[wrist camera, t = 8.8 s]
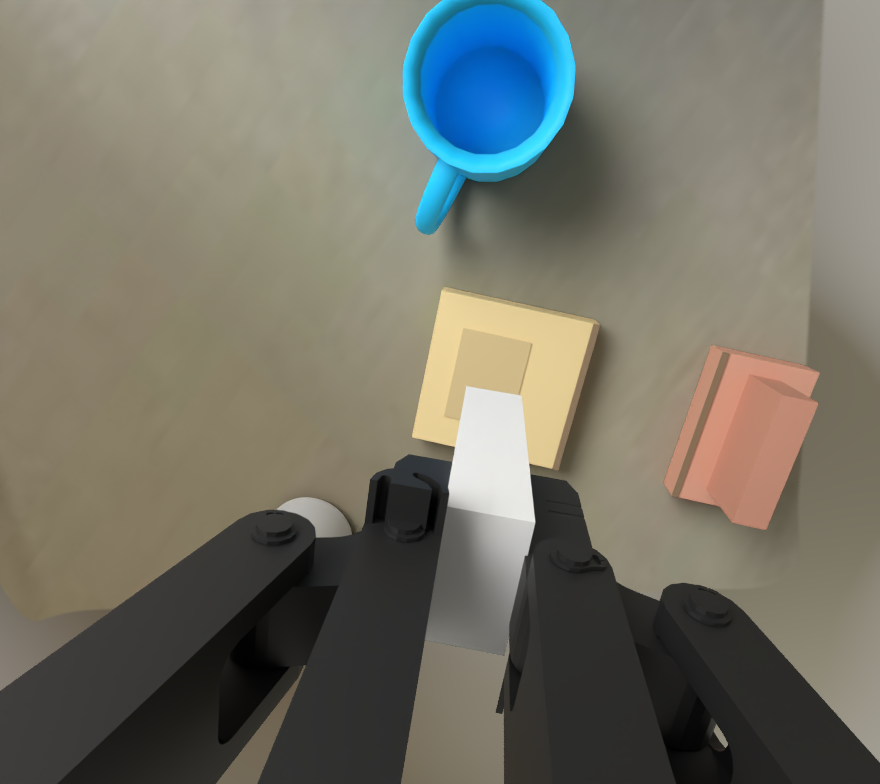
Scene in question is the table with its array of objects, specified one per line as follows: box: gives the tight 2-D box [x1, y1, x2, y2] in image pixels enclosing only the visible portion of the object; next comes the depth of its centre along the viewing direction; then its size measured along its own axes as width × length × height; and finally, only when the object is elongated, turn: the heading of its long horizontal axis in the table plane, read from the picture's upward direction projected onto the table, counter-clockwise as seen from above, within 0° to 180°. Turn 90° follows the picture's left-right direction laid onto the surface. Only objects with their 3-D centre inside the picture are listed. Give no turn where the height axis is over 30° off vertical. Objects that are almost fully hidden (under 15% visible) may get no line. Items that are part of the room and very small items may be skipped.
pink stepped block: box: [664, 345, 819, 530], centre depth 37 cm, size 10×6×6 cm, turn 169°
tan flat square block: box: [412, 287, 600, 471], centre depth 39 cm, size 10×10×2 cm
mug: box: [403, 0, 576, 235], centre depth 33 cm, size 12×8×8 cm
